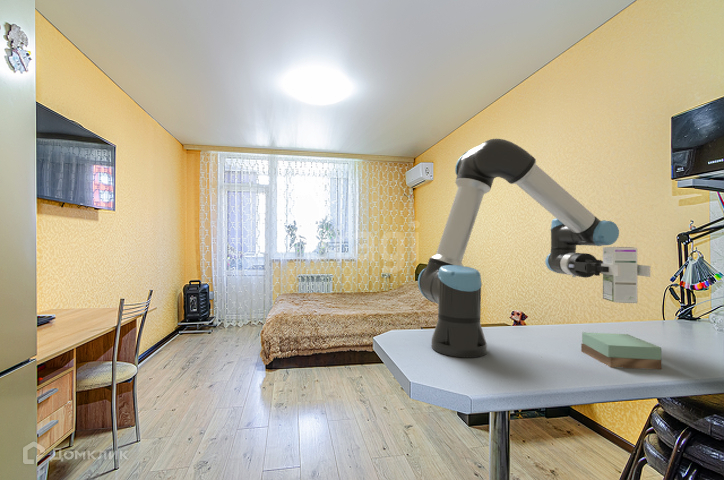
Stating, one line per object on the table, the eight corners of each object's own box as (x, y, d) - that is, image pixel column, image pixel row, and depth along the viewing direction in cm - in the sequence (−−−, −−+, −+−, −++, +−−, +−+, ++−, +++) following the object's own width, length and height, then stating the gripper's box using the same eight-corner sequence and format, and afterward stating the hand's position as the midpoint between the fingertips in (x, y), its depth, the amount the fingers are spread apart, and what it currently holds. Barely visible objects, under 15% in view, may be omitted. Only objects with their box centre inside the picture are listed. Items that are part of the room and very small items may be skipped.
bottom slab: (610, 370, 82) (610, 358, 82) (581, 354, 94) (581, 343, 94) (661, 372, 81) (661, 359, 81) (625, 355, 93) (625, 345, 93)
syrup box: (638, 303, 84) (639, 247, 84) (612, 302, 86) (613, 246, 86) (625, 300, 90) (626, 246, 90) (601, 298, 91) (601, 246, 91)
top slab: (608, 357, 82) (608, 345, 82) (582, 342, 94) (582, 332, 94) (661, 359, 81) (661, 347, 81) (627, 344, 93) (627, 334, 93)
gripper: (610, 277, 105) (674, 286, 82) (548, 275, 106) (593, 285, 83) (610, 253, 105) (674, 256, 82) (548, 252, 106) (594, 255, 83)
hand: (633, 270), depth 83 cm, fingers closed on syrup box, 6 cm apart
